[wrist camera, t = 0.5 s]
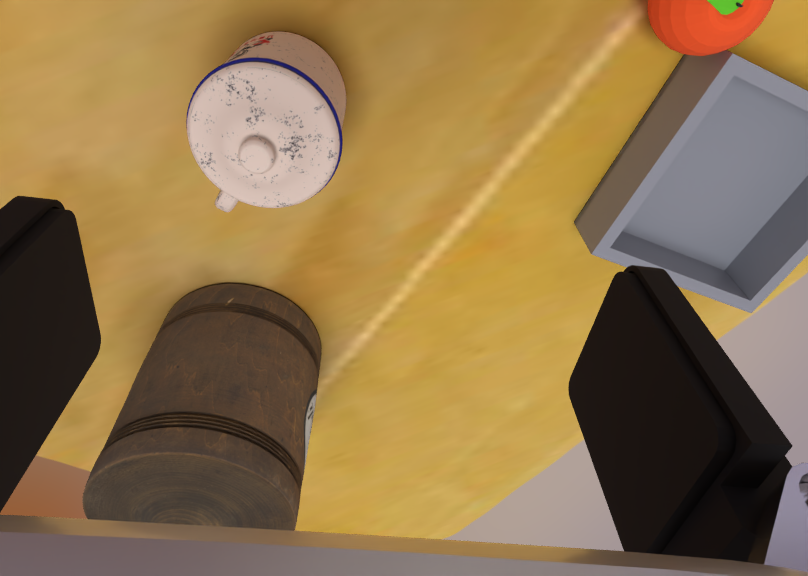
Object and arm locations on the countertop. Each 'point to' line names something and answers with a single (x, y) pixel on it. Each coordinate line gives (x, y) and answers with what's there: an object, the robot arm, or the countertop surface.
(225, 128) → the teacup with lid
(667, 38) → the clementine
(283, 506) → the wooden container
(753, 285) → the bin
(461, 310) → the countertop surface
